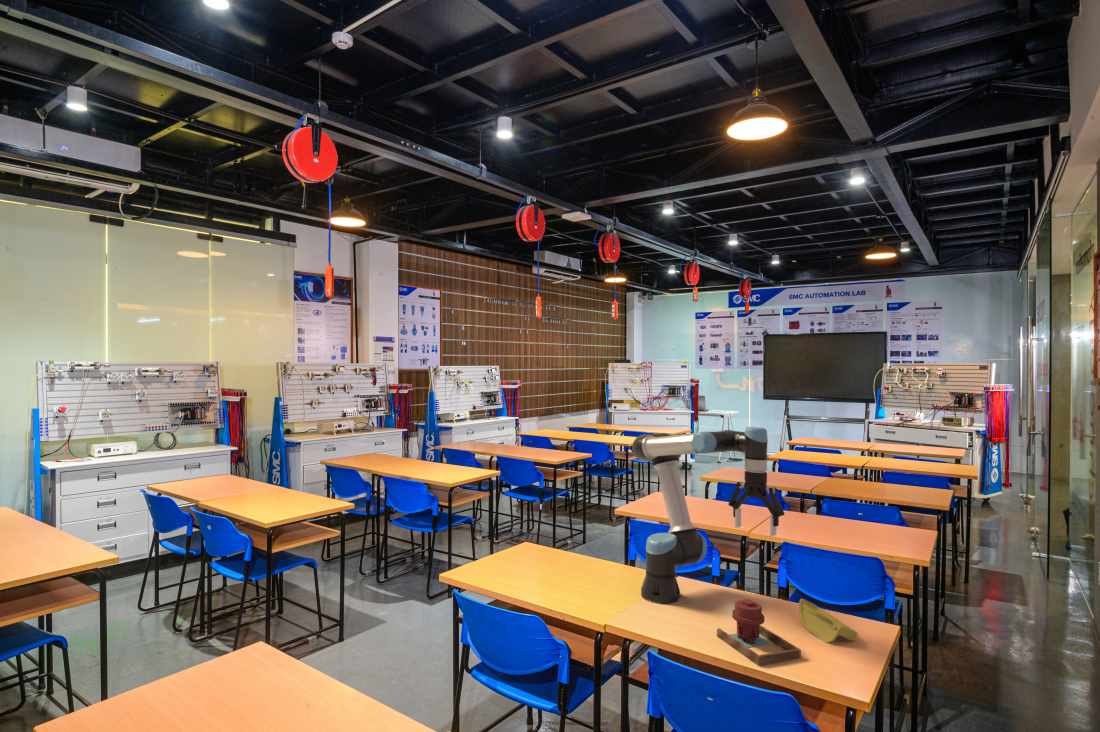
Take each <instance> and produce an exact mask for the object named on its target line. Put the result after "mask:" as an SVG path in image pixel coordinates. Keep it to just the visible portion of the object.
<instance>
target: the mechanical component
mask: <svg viewBox="0 0 1100 732" xmlns="http://www.w3.org/2000/svg"><path fill="white" fill-rule="evenodd" d="M731 617H732V619H733V620H735V621H736V633H737V637H738V638H740V639H743V640H745V641H747V642H749V643H750V644H754V639H757V638H759V635H760V634H759V625H761V626H762V625H763V624H764V623H765V619H766V618H765V615H764V614H763V607H762V605H761V604H760V603H758V602H757V601H754V600H752V599H749V598H747V599H746V598H744V599H738V600H736V601H735V602H734V609H733V610H732V612H731Z"/></svg>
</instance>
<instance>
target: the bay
mask: <svg viewBox="0 0 1100 732" xmlns="http://www.w3.org/2000/svg"><path fill="white" fill-rule="evenodd" d="M716 637H717V638H719V639H720V640H722V641H723V642H724V643H726V644H727V645H728V646H730V647H731V648H732V649H734V650H735V651H737V652H738V653H739V654H741V655H742V656H744V657H745V658H747V659H748V660H749V661H751V662H752V663H754V664H755V665H757V666H758V667H760V666H765V665H770V664H777V663H782V662H786V661H792V660H797V659H801V658H802V649H801V648H799V647H797V646H795V645H793V643H790V642H789V641H788V640H786V639H785V638H782V637H781V636H779V635H778V634H776V633H774V632H773V631H771V630H769V629H767V628H766V627H765V626H763V625H762V624H761V625H759V638H757V639H754V644H750V643H749V642H747V641H745V640H743V639H740V638H738V637H737V632H736V633H730V634H729V633H727V632H726V631H724V630H723V629H721V628H720V627H719V628H717V629H716ZM772 643H773V644H775V645H776V646H778V647H780V648H781V649H783V650H781V651H780V650H779V651H777V652H776V651H775V652H770V653H764V654H757V652H755V651H754V650H752V649H750V648H753V647H759V646H764V645H770V644H772Z"/></svg>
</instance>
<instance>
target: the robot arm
mask: <svg viewBox="0 0 1100 732" xmlns="http://www.w3.org/2000/svg"><path fill="white" fill-rule="evenodd" d="M768 442H769V440H768V431H767V429H766V428H765V427H755V426H748V427H745V429H744V431H737V430H732V429H722V430H720V431H700V432H695V433H694V432H693V433H685V434H684V433H683V434H675V435H674V433H673V434H672V433H666V432H662V433H644V434H640V435H639V436H637V437H636V438H635V439H634V440H633V442H632V447H631V448H632V449H631V450H632V453H633V455H634V456H635V458H636V459H637V460H640V461H642V462H651V465H652V468H653V469H655V470H656V471H657V475H658V479H659V483H660V488H661V491H662V496H663V500H664V505H665V508H666V514H667V518H668V523H669V526H670V527H669V530H668V532H658V533H657V532H656V533H653V534H651V535H649V536H648V537H647V539H646V545H645V576H644V579H643V581H642V584H641V588H640V595H641V598H643V599H645V600H647V599H649V600H651V601H650V602H652V601H655V602H654V603H657V602H659V603H658V604H674V603H676V602H679V601H680V599H681V590H680V587H679V582H678V580H677V567H682V566H688V565H694V564H697V563H700V562H701V561H703V560H704V558H705V556H706V555H707V549H708V545H707V541H706V538H705V537H704V536H703V535H702V534H701V533H700V532H698V531H697V527H696V525H693V523H692V521H691V517H690V513H689V509H688V505H687V501H686V497H685V491H684V489H683V488H684V487H683V484H682V480H681V476H680V472H679V468H678V466H679V464H680V462H681V461H680V458H681V457H682V455H693V454H694V455H695V454H696V455H697V454H710V453H711V454H712V453H726V452H727V453H728V452H736V453H743V454H744V470H745V471H744V481H745V482H743V481H738V482H736V486H735V488H734V489H735V490H734V491H733V493H732V496H731V498H730V500H729V502H728V503H727V504H728V506H729V507H732V509H733V511H732V512H733V513H732V515H733V518H734V519H735V520H734V528H739V527H742V508H741V506H742V505H743V504H744V502H745V501H747V499H748V498H749V497H750V498H756V499H759V500H761V501H762V502H763V504H764V505H765V507H766V508H767V509H768V511H769V513H770V514H771V516H770V518H769V519H770V523H769V524H770V525H769V526H770V527H769V530H770V531H769V535H770V536H771V537H775V536H777V527H779V524H780V523H779V521H780V517H782V516H785V512H784V510H783V507H782V505H781V502H780V500H779V498H778V495H777V491H776V490H777V489H776V487H775V486H771V487H770V486H769V487H768V485H767V482H768V472H767V471H768ZM743 489H745V491H744V492H743V494H742V495H741V493H742V491H743ZM767 493H768V494H767ZM740 495H741V496H740ZM768 495H769V496H768ZM769 497H770V498H769ZM649 600H648V601H649Z"/></svg>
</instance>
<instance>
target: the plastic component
mask: <svg viewBox="0 0 1100 732" xmlns="http://www.w3.org/2000/svg"><path fill="white" fill-rule="evenodd" d="M798 611H799V612H798V613H799V616H800V619H801V621H802V624H803V625H804V627H806V629H807V630H808V631H810V632H811V633H812V634H813V635H815V636H816V637H818V638H819V639H820V640H821V641H823V642H825V643H827V644H828V643H833V642H834V641H836V639H837V637H838V636H840V637H842V638H845V639H846V640H849V641H851V642H854V641H855V640H856V638H857V636H858V632H857V631H856V630H855V629H853V628H851V627H850V626H849V625H847V624H845V623H844V622H843V621H841V620H840V619H838V618H836V617H835V616H833V614H830V613H828V612H827V611H826V610H824V609H823V608H820V607H819V606H817V605H816V604H814V603H812V602H810V601H808V600H806V599H803V598H800V600H799V603H798Z"/></svg>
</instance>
